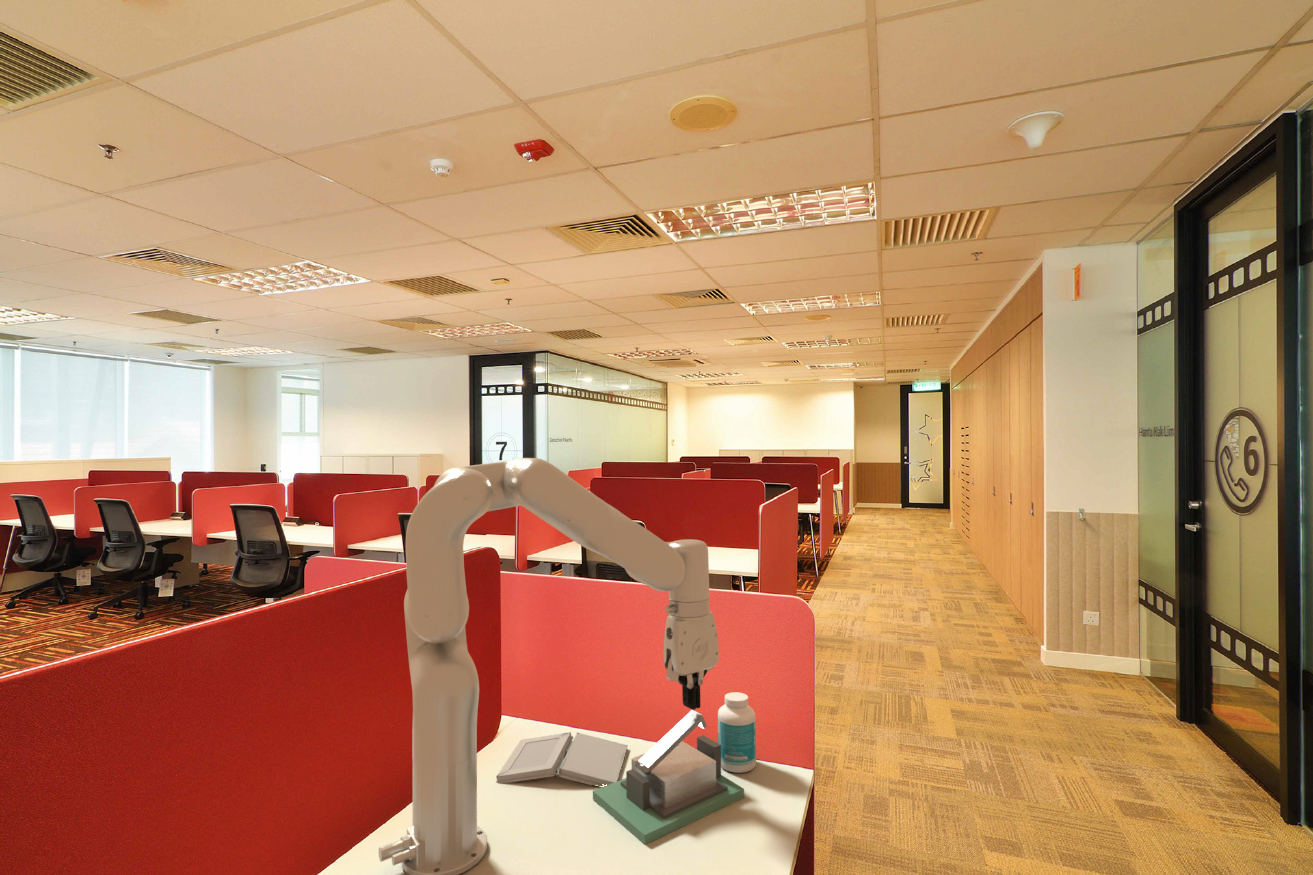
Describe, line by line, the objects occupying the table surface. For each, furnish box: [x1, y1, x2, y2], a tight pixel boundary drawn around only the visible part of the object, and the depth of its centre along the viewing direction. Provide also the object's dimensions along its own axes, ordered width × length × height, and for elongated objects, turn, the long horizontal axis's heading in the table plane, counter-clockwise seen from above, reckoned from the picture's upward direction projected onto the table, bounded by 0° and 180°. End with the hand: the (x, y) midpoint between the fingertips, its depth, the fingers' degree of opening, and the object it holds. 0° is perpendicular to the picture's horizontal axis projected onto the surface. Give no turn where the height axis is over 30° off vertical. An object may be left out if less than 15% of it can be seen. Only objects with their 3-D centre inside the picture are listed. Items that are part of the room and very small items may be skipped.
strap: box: [635, 709, 708, 775], centre depth 112 cm, size 15×3×3 cm, turn 127°
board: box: [592, 734, 745, 845], centre depth 111 cm, size 22×16×7 cm
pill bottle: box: [717, 691, 757, 774], centre depth 123 cm, size 8×7×14 cm
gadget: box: [495, 731, 629, 786], centre depth 124 cm, size 23×15×4 cm, turn 84°
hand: (691, 706), depth 115 cm, fingers closed
